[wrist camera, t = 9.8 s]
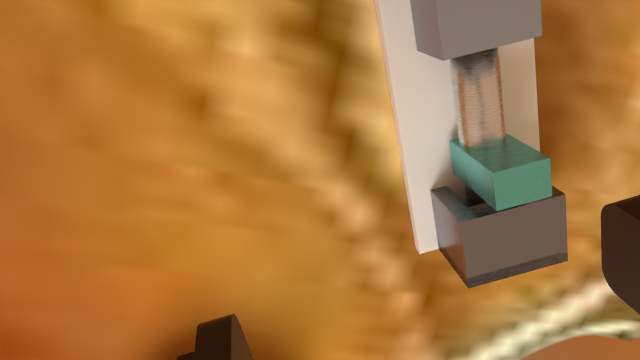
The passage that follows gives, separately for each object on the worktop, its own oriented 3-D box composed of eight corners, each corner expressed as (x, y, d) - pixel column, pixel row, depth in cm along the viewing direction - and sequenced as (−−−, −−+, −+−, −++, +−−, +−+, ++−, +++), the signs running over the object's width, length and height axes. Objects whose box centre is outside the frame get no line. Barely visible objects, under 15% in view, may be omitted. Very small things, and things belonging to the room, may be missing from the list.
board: (364, -57, 32) (389, -65, 26) (518, -93, 32) (571, -108, 27) (415, 247, 40) (442, 286, 35) (536, 214, 41) (580, 248, 35)
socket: (429, 189, 37) (460, 222, 32) (521, 165, 38) (565, 194, 33) (438, 248, 39) (468, 288, 34) (525, 225, 40) (567, 260, 34)
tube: (435, 38, 33) (481, 51, 27) (487, 26, 33) (544, 36, 27) (460, 227, 38) (502, 274, 32) (504, 215, 39) (555, 259, 32)
